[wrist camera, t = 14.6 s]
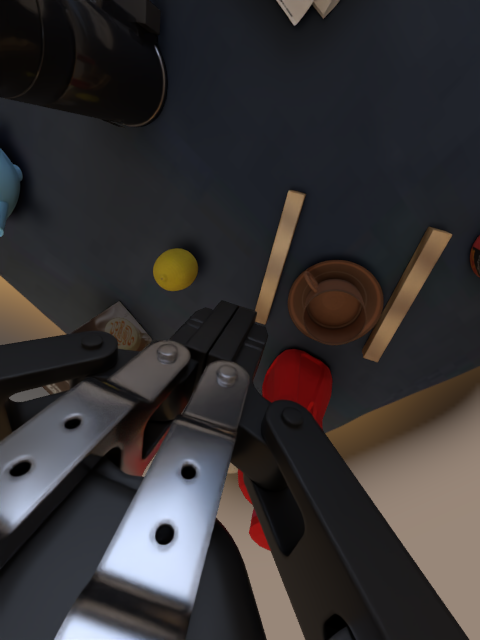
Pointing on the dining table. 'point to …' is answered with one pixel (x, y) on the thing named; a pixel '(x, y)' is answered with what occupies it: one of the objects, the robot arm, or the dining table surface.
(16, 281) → the dining table surface
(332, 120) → the dining table surface
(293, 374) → the water bottle
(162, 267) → the lemon
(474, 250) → the canned food
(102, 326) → the coffee box
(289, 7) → the newspaper
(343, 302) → the cup and saucer
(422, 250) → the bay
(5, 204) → the teapot
